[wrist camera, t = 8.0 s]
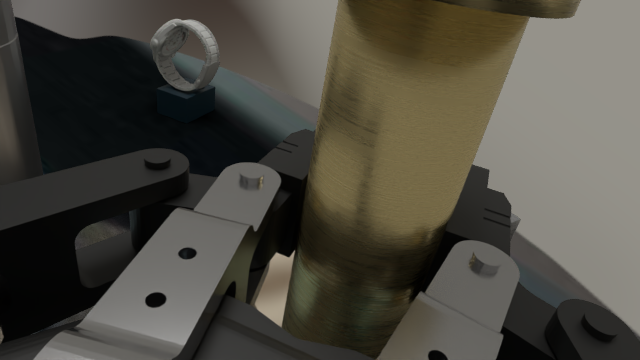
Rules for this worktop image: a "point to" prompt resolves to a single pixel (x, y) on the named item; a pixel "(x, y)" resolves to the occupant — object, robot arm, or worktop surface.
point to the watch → (180, 94)
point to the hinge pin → (394, 155)
